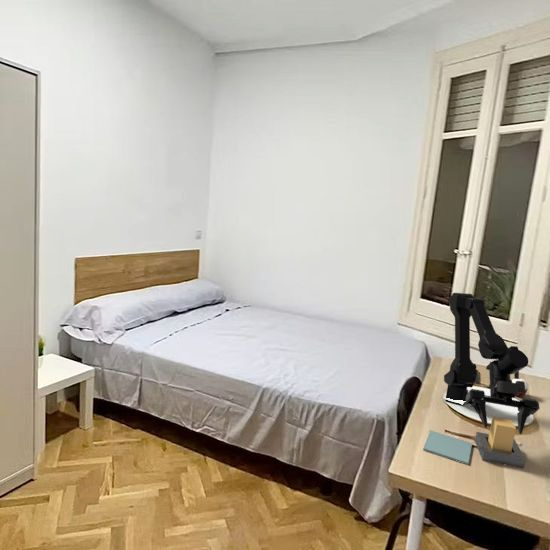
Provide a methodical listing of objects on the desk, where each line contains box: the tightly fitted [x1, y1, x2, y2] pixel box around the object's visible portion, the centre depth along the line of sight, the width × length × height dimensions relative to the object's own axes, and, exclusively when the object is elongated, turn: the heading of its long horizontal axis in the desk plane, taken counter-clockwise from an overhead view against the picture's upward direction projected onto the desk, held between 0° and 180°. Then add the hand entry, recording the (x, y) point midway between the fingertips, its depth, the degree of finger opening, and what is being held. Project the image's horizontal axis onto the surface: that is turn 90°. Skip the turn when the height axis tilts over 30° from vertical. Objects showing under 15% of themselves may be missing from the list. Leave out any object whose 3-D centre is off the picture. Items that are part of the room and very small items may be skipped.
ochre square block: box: [488, 416, 517, 452], centre depth 129 cm, size 5×5×10 cm
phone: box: [474, 369, 480, 385], centre depth 188 cm, size 8×1×15 cm
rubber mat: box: [422, 429, 473, 465], centre depth 131 cm, size 12×12×1 cm
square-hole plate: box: [474, 431, 526, 469], centre depth 129 cm, size 10×10×3 cm
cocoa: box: [511, 370, 530, 398], centre depth 172 cm, size 10×6×12 cm, turn 156°
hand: (503, 430), depth 128 cm, fingers open, 9 cm apart
